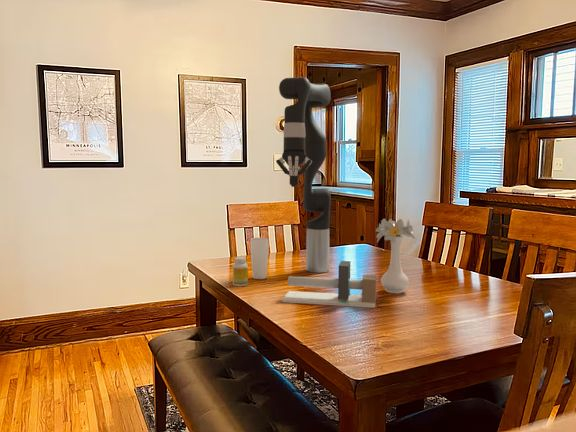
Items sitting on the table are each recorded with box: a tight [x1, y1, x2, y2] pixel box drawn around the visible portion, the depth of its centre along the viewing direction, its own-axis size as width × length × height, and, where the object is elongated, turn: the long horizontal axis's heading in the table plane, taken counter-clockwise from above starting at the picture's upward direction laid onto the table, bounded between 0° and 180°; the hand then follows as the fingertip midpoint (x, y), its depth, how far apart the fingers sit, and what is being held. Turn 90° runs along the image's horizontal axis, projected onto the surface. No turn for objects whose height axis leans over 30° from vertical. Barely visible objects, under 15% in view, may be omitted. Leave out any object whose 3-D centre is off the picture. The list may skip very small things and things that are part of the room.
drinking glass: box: [249, 237, 270, 280], centre depth 187 cm, size 7×7×15 cm
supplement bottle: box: [232, 256, 249, 287], centre depth 177 cm, size 5×5×10 cm
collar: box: [337, 260, 351, 300], centre depth 156 cm, size 3×8×10 cm, turn 169°
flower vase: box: [375, 218, 417, 294], centre depth 168 cm, size 13×18×25 cm
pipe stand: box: [281, 274, 377, 309], centre depth 157 cm, size 28×11×8 cm, turn 79°
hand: (294, 186), depth 174 cm, fingers closed
